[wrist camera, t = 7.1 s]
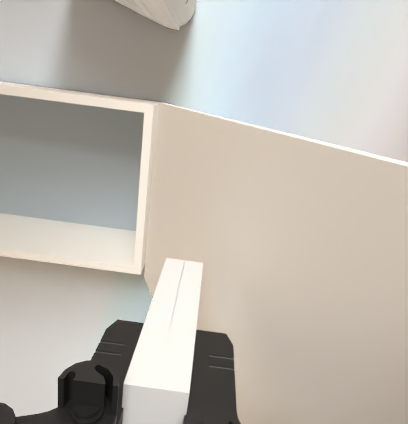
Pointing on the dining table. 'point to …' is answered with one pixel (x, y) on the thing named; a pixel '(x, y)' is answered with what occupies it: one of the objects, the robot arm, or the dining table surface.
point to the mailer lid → (289, 264)
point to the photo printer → (163, 10)
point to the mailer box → (75, 177)
